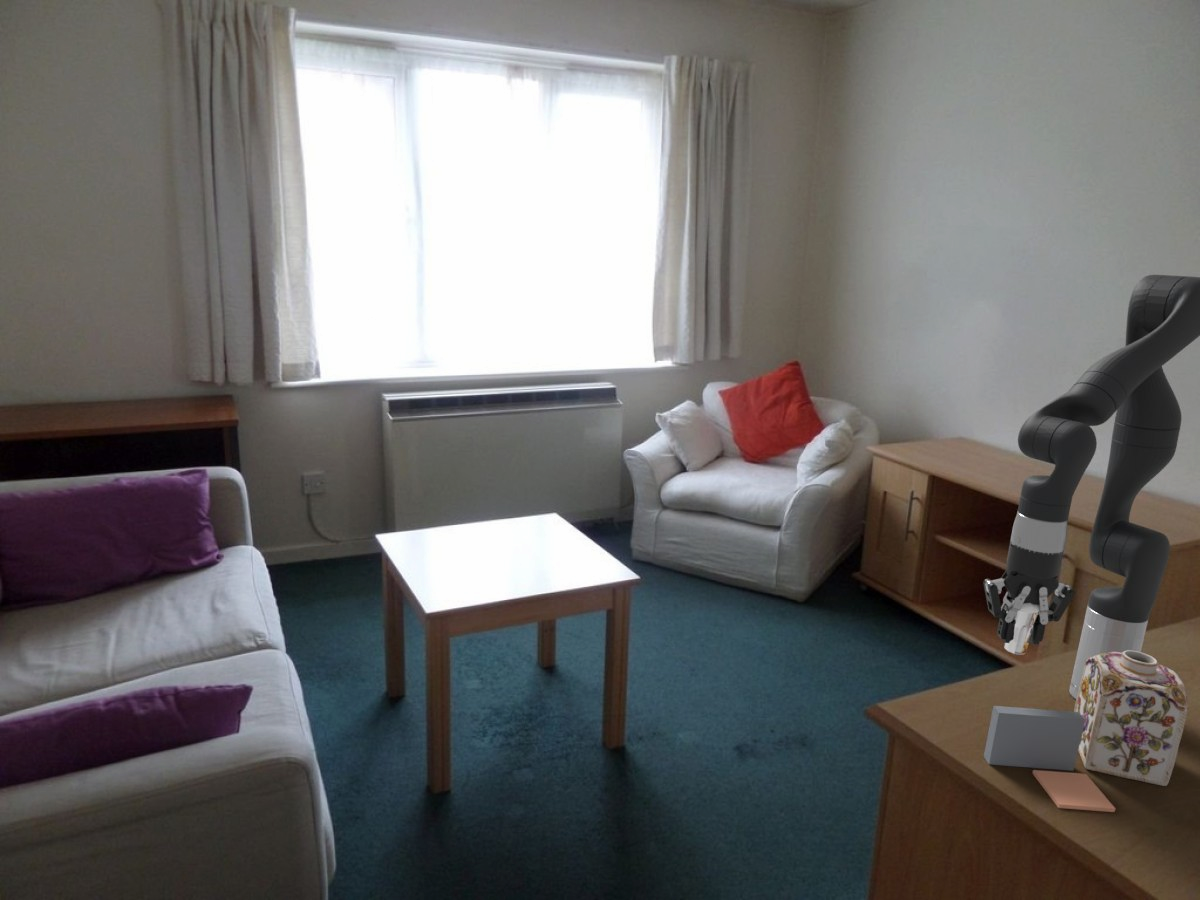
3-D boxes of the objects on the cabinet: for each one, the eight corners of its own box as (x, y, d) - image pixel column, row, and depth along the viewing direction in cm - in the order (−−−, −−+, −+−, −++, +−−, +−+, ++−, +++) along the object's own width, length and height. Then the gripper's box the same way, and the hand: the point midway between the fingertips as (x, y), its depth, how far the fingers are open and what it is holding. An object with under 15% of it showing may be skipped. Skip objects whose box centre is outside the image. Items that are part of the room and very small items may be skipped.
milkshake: (1039, 659, 132) (1052, 602, 129) (1003, 654, 133) (1015, 597, 130) (1031, 646, 136) (1043, 590, 133) (996, 641, 137) (1008, 586, 134)
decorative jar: (1082, 770, 128) (1106, 665, 124) (1067, 730, 139) (1088, 633, 134) (1171, 789, 124) (1199, 682, 120) (1148, 747, 135) (1173, 647, 131)
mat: (1085, 777, 126) (1086, 773, 126) (1114, 812, 118) (1115, 808, 118) (1032, 773, 126) (1033, 769, 126) (1058, 807, 119) (1059, 804, 118)
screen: (1067, 762, 129) (1078, 712, 127) (1073, 770, 128) (1085, 719, 125) (983, 756, 130) (993, 705, 128) (988, 764, 128) (998, 712, 126)
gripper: (1071, 536, 133) (1051, 633, 137) (981, 531, 133) (965, 628, 137) (1096, 553, 125) (1075, 655, 130) (1001, 548, 126) (983, 650, 130)
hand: (1018, 641), depth 133 cm, fingers closed on milkshake, 4 cm apart
